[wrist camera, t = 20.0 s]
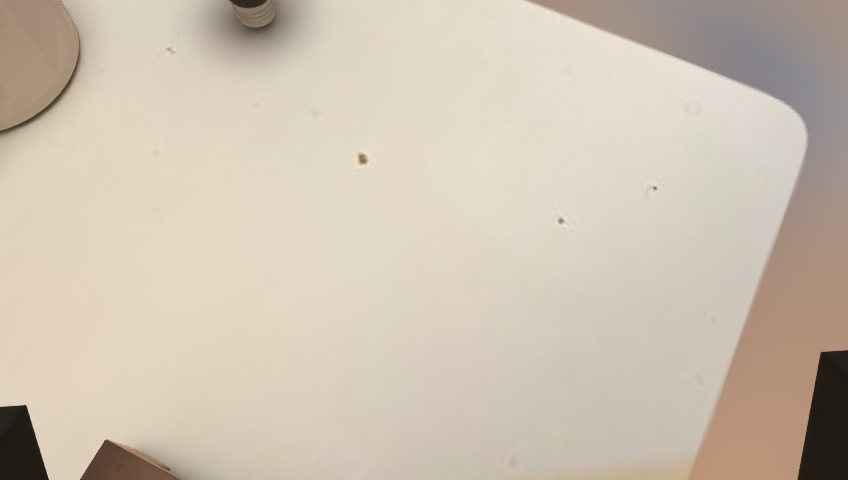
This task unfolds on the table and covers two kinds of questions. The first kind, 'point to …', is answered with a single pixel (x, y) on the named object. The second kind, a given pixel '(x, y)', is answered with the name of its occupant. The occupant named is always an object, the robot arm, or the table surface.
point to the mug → (34, 56)
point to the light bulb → (254, 12)
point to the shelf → (125, 465)
